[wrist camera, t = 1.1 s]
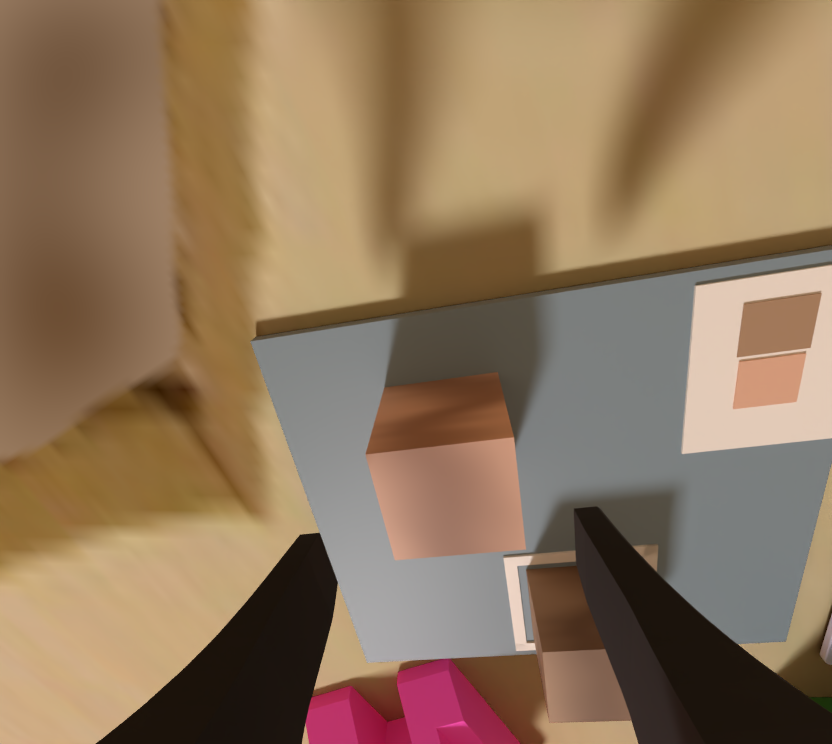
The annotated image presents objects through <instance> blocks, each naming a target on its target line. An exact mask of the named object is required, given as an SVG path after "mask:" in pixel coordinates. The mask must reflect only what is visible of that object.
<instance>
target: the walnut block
mask: <svg viewBox="0 0 832 744" xmlns="http://www.w3.org/2000/svg"><path fill="white" fill-rule="evenodd" d="M526 574H527V583H528V592H529V601H530V610H531V619H532V629H533V637H534V642H535V648H536V653H537V659H538V664H539V669H540V675H541V680H542V686H543V691H544V696H545V702H546V707H547V713H548V718H549V723H563V722H596V721H630V720H631V717H630V714H629V711H628V708H627V705H626V702H625V699H624V696H623V694H622V691H621V688H620V686H619V683H618V681H617V678H616V676H615V673H614V671H613V668H612V665H611V663H610V660H609V658H608V655H607V653H606V650H605V648H604V645H603V643H602V640H601V637H600V635H599V632H598V630H597V627H596V625H595V622H594V619H593V617H592V614H591V612H590V609H589V606H588V604H587V601H586V598H585V594H584V591H583V587H582V583H581V580H580V576H579V572H578V569H577V566H566V567H553V568H540V569H527V570H526Z"/></svg>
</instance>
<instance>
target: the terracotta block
mask: <svg viewBox="0 0 832 744" xmlns="http://www.w3.org/2000/svg"><path fill="white" fill-rule="evenodd" d="M365 455H366V459H367V462H368V466H369V470H370V473H371V477H372V480H373V484H374V488H375V491H376V495H377V498H378V502H379V505H380V509H381V513H382V516H383V520H384V523H385V527H386V531H387V534H388V538H389V541H390V545H391V548H392V552H393V556H394V559H395V560H405V559H417V558H429V557H441V556H454V555H466V554H478V553H490V552H502V551H514V550H526V545H525V535H524V526H523V517H522V507H521V498H520V488H519V479H518V470H517V460H516V451H515V442H514V435H513V431H512V427H511V423H510V419H509V415H508V411H507V407H506V403H505V399H504V395H503V391H502V387H501V383H500V379H499V375H498V372H494V373H487V374H480V375H472V376H465V377H458V378H450V379H443V380H436V381H428V382H421V383H414V384H406V385H399V386H392V387H385V388H384V390H383V394H382V397H381V401H380V404H379V408H378V411H377V415H376V419H375V422H374V426H373V429H372V433H371V436H370V440H369V443H368V447H367V450H366V454H365Z"/></svg>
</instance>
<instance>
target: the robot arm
mask: <svg viewBox="0 0 832 744" xmlns="http://www.w3.org/2000/svg"><path fill="white" fill-rule="evenodd" d="M574 530H575V553H576V565H577V569H578V572H579V576H580V580H581V583H582V587H583V591H584V594H585V598H586V601H587V604H588V606H589V609H590V612H591V614H592V617H593V619H594V622H595V625H596V627H597V630H598V632H599V635H600V637H601V640H602V643H603V645H604V648H605V650H606V653H607V655H608V658H609V660H610V663H611V665H612V668H613V671H614V673H615V676H616V678H617V681H618V683H619V686H620V688H621V691H622V694H623V696H624V699H625V702H626V705H627V708H628V711H629V714H630V717H631V720H632V723H633V727H634V730H635V733H636V737H637V740H638V743H639V744H832V713H831V712H830V711H828V710H827V709H825V708H824V707H822V706H821V705H819V704H818V703H816V702H815V701H813V700H812V699H810V698H809V697H808V696H806V695H805V694H803V693H802V692H801V691H799V690H798V689H797V688H795V687H794V686H792V685H791V684H790V683H788V682H787V681H786V680H784V679H783V678H781V677H780V676H779V675H777V674H776V673H775V672H773V671H772V670H771V669H769V668H768V667H766V666H765V665H764V664H762V663H761V662H760V661H758V660H757V659H756V658H754V657H753V656H752V655H750V654H749V653H748V652H747V651H745V650H744V649H743V648H742V647H740V646H739V645H738V644H737V643H735V642H734V641H733V640H732V639H730V638H729V637H728V636H727V635H725V634H724V633H723V632H722V631H721V630H720V629H718V628H717V627H716V626H715V625H714V624H712V623H711V622H710V621H709V620H708V619H707V618H705V617H704V616H703V615H702V614H701V613H700V612H699V611H697V610H696V609H695V608H694V607H693V606H692V605H691V604H690V603H689V602H687V601H686V600H685V599H684V598H683V597H682V596H681V595H680V594H679V593H678V592H677V591H676V590H675V589H674V588H673V587H672V586H670V585H669V584H668V583H667V582H666V581H665V580H664V579H663V578H662V577H661V576H660V575H659V574H658V573H657V572H656V571H655V570H654V568H653V567H652V566H651V565H650V564H649V563H648V562H647V561H646V560H645V559H644V558H643V557H642V556H641V555H640V554H639V553H638V552H637V551H636V550H635V549H634V547H633V546H632V545H631V544H630V543H629V542H628V541H627V540H626V539H625V537H624V536H623V535H622V534H621V533H620V532H619V530H618V529H617V528H616V527H615V526H614V525H613V523H612V522H611V521H610V520H609V519H608V517H607V516H606V515H605V514H604V512H603V511H602V510H601V509H600V508H599V507H597V506H595V507H584V508H574ZM337 584H338V581H337V578H336V576H335V573H334V570H333V567H332V565H331V562H330V559H329V557H328V554H327V551H326V548H325V546H324V543H323V540H322V537H321V535H320V533H313V534H303V535H300V536H299V537H298V538H297V539H296V541H295V542H294V543H293V544H292V546H291V547H290V548H289V549H288V551H287V552H286V553H285V554H284V556H283V557H282V558H281V560H280V561H279V562H278V563H277V565H276V566H275V567H274V568H273V570H272V571H271V572H270V574H269V575H268V576H267V577H266V579H265V580H264V581H263V582H262V583H261V585H260V586H259V587H258V588H257V590H256V591H255V592H254V593H253V595H252V596H251V597H250V598H249V599H248V601H247V602H246V603H245V604H244V605H243V606H242V608H241V609H240V610H239V611H238V612H237V613H236V614H235V616H234V617H233V618H232V619H231V620H230V621H229V622H228V624H227V625H226V626H225V627H224V628H223V629H222V630H221V631H220V633H219V634H218V635H217V636H216V637H215V638H214V639H213V640H212V641H211V642H210V643H209V644H208V645H207V646H206V647H205V648H204V649H203V650H202V651H201V652H200V653H199V654H198V655H197V656H196V657H195V658H194V659H193V660H192V661H191V662H190V663H189V664H188V665H187V666H186V667H185V668H184V669H183V670H182V671H181V672H180V673H179V674H178V675H177V676H175V677H174V678H173V679H172V680H171V681H170V682H169V683H168V684H167V685H165V686H164V687H163V688H162V689H161V690H160V691H159V692H158V693H157V694H155V695H154V696H153V697H152V698H151V699H150V700H149V701H148V702H147V703H145V704H144V705H143V706H142V707H141V708H140V709H138V710H137V711H136V712H135V713H133V714H132V715H131V716H130V717H129V718H127V719H126V720H125V721H124V722H123V723H121V724H120V725H119V726H118V727H116V728H115V729H114V730H113V731H111V732H110V733H109V734H108V735H106V736H105V737H104V738H103V739H101V740H100V741H99V742H97V743H96V744H302V738H303V733H304V727H305V723H306V718H307V714H308V710H309V705H310V702H311V698H312V694H313V690H314V687H315V683H316V679H317V676H318V672H319V668H320V664H321V661H322V657H323V653H324V650H325V646H326V642H327V638H328V634H329V631H330V627H331V623H332V619H333V612H334V606H335V599H336V592H337ZM820 656H821V658H822V659H823V660H824V661H825V663H827V664H830V665H832V615H831V619H830V622H829V625H828V628H827V631H826V635H825V638H824V641H823V644H822V648H821V651H820Z"/></svg>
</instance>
